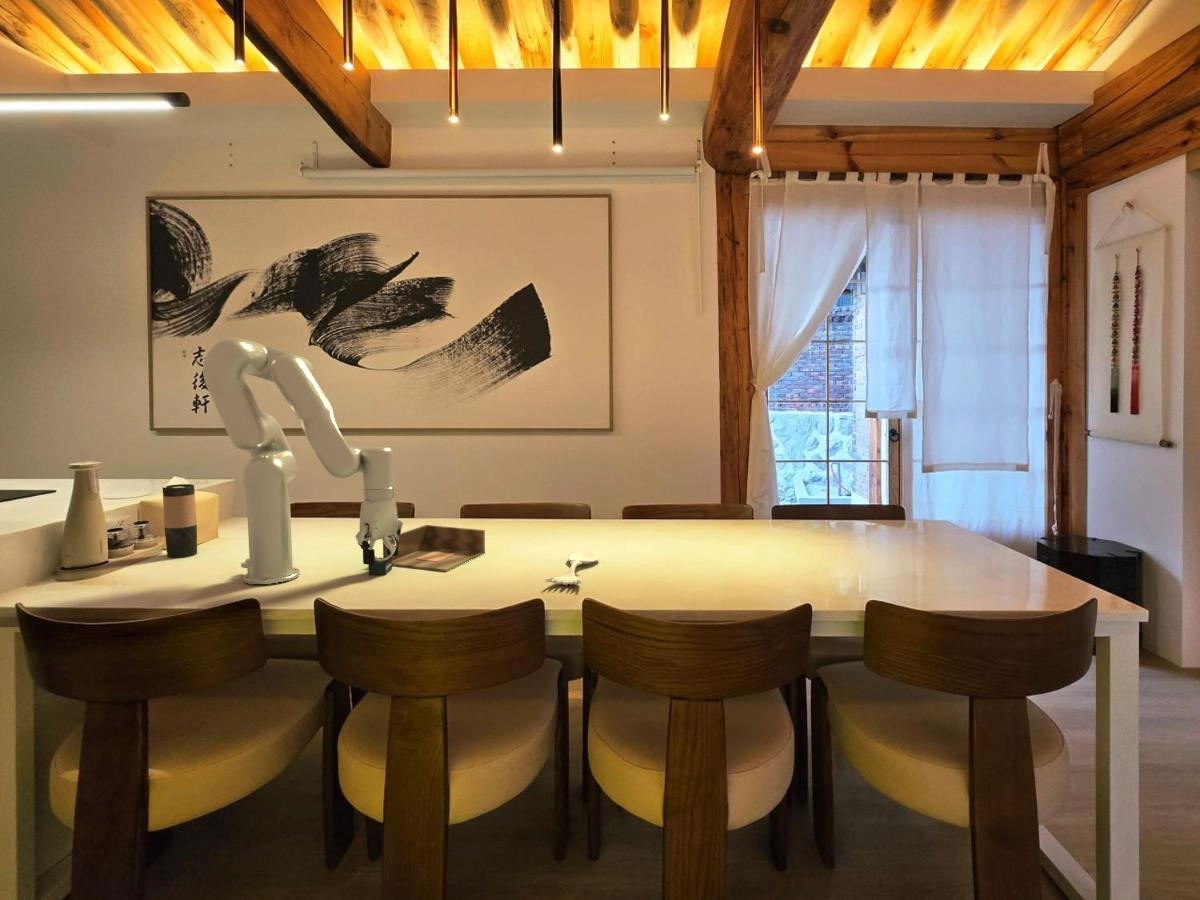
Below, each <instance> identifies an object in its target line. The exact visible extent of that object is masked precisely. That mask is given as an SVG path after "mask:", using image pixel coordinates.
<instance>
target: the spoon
mask: <svg viewBox="0 0 1200 900" xmlns="http://www.w3.org/2000/svg"><path fill="white" fill-rule="evenodd" d="M600 558H601V554H600V553H599V552H598V551H597V550H594V549H590V548H589V549H588V548H587V549H586V548H585V549H584V548H582V549H578V550H575V551H573V552H571V553H570V554H569V555H568V556H567V560H568V561H570V562H569V563H570V565H571V566H570V567H569V570H568V571H567V573H565V574H564V575H562V576H557V577H546V578H545V582H546V583H552V584H558V585H563V586H567V585H568V584H570V585H568V586H573V585H578V584H579V585H581V584H582V579H581V578H579V577H577V576H576V574H575V571H576V568H577V566H580V565H581V566H582V565H588V564H592V563H595V562H597V561H598V560H600ZM572 584H573V585H572Z"/></svg>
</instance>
